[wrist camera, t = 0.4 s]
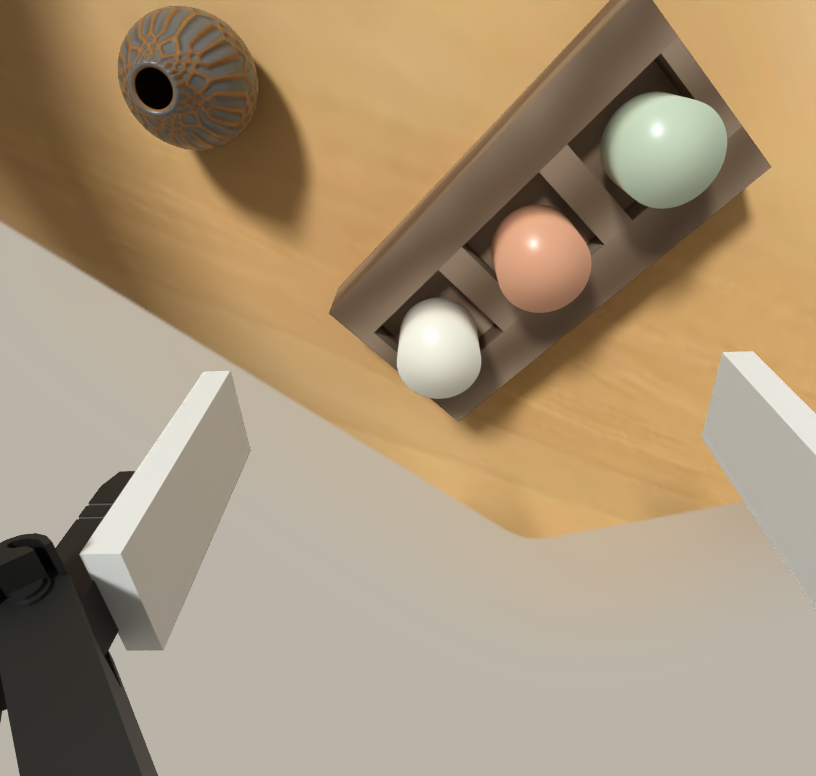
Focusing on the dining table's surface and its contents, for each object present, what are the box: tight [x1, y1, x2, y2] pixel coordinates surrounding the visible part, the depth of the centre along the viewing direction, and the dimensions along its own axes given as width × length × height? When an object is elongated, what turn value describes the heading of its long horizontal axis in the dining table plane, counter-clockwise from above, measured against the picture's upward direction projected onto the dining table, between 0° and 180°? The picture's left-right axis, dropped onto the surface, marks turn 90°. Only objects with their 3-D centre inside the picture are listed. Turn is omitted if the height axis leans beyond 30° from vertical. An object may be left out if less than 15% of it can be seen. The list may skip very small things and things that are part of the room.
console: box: [329, 0, 771, 421], centre depth 37 cm, size 12×24×4 cm, turn 137°
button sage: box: [600, 92, 727, 209], centre depth 30 cm, size 5×5×4 cm
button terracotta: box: [491, 204, 592, 313], centre depth 33 cm, size 5×5×4 cm
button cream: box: [397, 298, 481, 399], centre depth 36 cm, size 5×5×4 cm
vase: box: [118, 6, 259, 150], centre depth 31 cm, size 7×7×9 cm
